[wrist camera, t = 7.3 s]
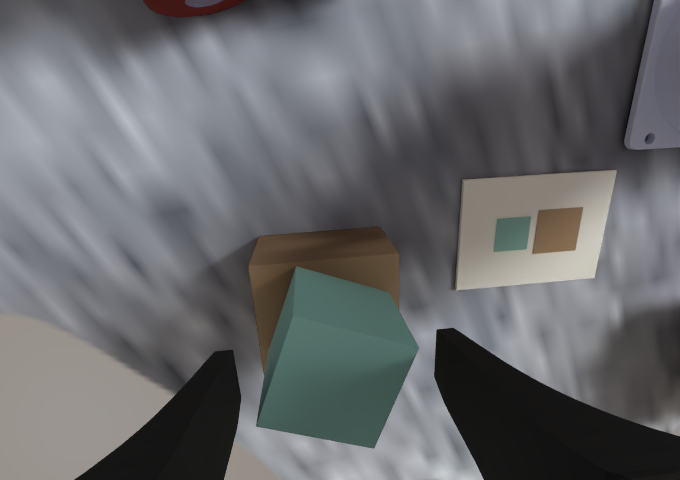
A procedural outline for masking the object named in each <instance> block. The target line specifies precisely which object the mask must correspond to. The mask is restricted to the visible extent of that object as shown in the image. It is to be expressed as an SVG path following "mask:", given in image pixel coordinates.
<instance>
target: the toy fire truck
mask: <svg viewBox="0 0 680 480" xmlns="http://www.w3.org/2000/svg"><path fill="white" fill-rule="evenodd" d="M143 1H144V2H145V4H146V5H147V6H148V7H149V8H150V9H151V10H153V11H154V12H156V13H159V14H162V15H167V16H173V17H193V16H202V15H207V14H212V13H216V12H219V11H222V10H226V9H228V8H230V7H233V6H235V5H237V4H240V3H242V2H243V1H245V0H143Z"/></svg>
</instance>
